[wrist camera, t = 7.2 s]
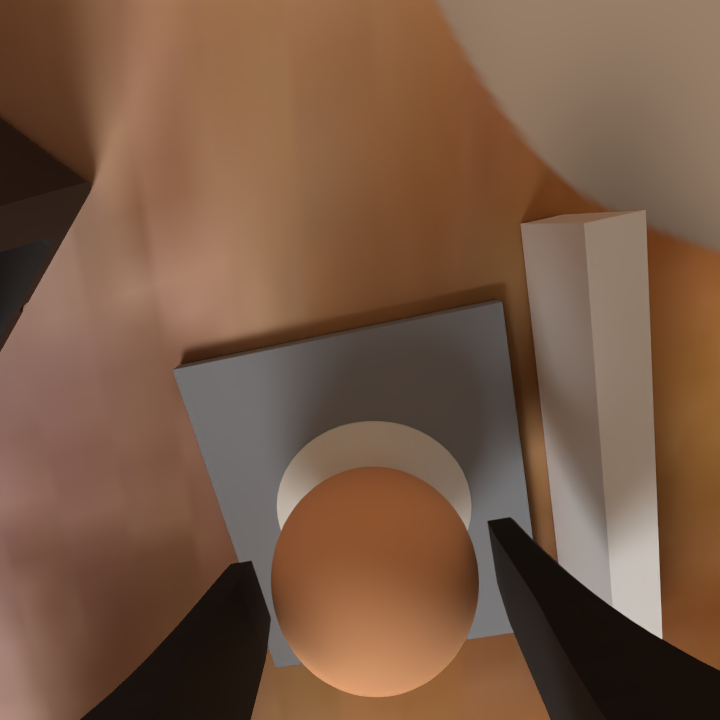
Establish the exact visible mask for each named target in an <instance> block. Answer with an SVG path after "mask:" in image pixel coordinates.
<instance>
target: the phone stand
mask: <svg viewBox="0 0 720 720" xmlns="http://www.w3.org/2000/svg"><path fill="white" fill-rule="evenodd" d="M90 190H91V186H90V184H89V183H88V182H86V181H85V180H84V179H82V178H81V177H80V176H78V175H77V174H75V173H74V172H73V171H71V170H70V169H69V168H67V167H66V166H65V165H63V164H62V163H61V162H59V161H58V160H57V159H55V158H54V157H52V156H51V155H50V154H48V153H47V152H46V151H44V150H43V149H42V148H40V147H39V146H38V145H36V144H35V143H34V142H32V141H31V140H30V139H28V138H27V137H25V136H24V135H23V134H21V133H20V132H19V131H17V130H16V129H15V128H13V127H12V126H11V125H9V124H8V123H7V122H5V121H4V120H2V119H1V118H0V351H1V349H2V348H3V346H4V344H5V342H6V341H7V339H8V337H9V335H10V333H11V332H12V330H13V328H14V326H15V325H16V323H17V321H18V319H19V317H20V316H21V314H22V311H20V309H21V307H22V306H23V305H24V304H26V303H28V301H29V300H30V298H31V296H32V294H33V293H34V291H35V289H36V287H37V285H38V284H39V282H40V280H41V278H42V277H43V275H44V273H45V271H46V269H47V268H48V266H49V264H50V262H51V261H52V259H53V257H54V255H55V253H56V252H57V250H58V248H59V246H60V245H61V243H62V241H63V239H64V238H65V236H66V234H67V232H68V230H69V229H70V227H71V225H72V223H73V222H74V220H75V218H76V216H77V214H78V213H79V211H80V209H81V207H82V206H83V204H84V202H85V200H86V198H87V197H88V195H89V193H90Z"/></svg>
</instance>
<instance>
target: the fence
mask: <svg viewBox="0 0 720 720" xmlns="http://www.w3.org/2000/svg"><path fill="white" fill-rule="evenodd" d="M520 225H521V234H522V243H523V252H524V261H525V270H526V279H527V288H528V297H529V305H530V314H531V323H532V332H533V341H534V350H535V359H536V368H537V377H538V386H539V394H540V403H541V412H542V421H543V430H544V439H545V448H546V457H547V466H548V475H549V483H550V492H551V501H552V510H553V519H554V528H555V537H556V546H557V555H558V564H559V565H561V566H562V567H563V568H564V569H565V570H566V571H567V572H568V573H570V574H571V575H572V576H573V577H574V578H576V579H577V580H578V581H579V582H580V583H582V584H583V585H584V586H585V587H587V588H588V589H589V590H590V591H592V592H593V593H594V594H596V595H597V596H598V597H600V598H601V599H602V600H603V601H605V602H606V603H608V604H609V605H610V606H612V607H613V608H614V609H616V610H617V611H619V612H620V613H622V614H623V615H625V616H626V617H627V618H629V619H630V620H632V621H633V622H635V623H636V624H638V625H640V626H641V627H643V628H644V629H646V630H647V631H649V632H650V633H652V634H654V635H656V636H657V637H659V638H661V639H662V618H661V592H660V566H659V540H658V514H657V488H656V462H655V436H654V410H653V384H652V358H651V332H650V307H649V281H648V255H647V229H646V210H634V211H616V212H599V213H582V214H564V215H559V216H554V217H550V218H545V219H541V220H536V221H532V222H527V223H522V224H520Z"/></svg>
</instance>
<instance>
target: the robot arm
mask: <svg viewBox="0 0 720 720" xmlns="http://www.w3.org/2000/svg"><path fill="white" fill-rule="evenodd" d="M487 523H488V529H489V536H490V542H491V548H492V554H493V561H494V567H495V573H496V579H497V584H498V588H499V591H500V594H501V597H502V601H503V604H504V607H505V610H506V613H507V616H508V620H509V622H510V625H511V627H512V630H513V632H514V634H515V637H516V639H517V641H518V644H519V646H520V648H521V651H522V653H523V655H524V658H525V660H526V662H527V665H528V667H529V669H530V672H531V674H532V676H533V679H534V681H535V683H536V686H537V688H538V690H539V693H540V695H541V697H542V700H543V702H544V704H545V707H546V709H547V711H548V714H549V717H550V719H551V720H720V671H719V670H717V669H715V668H713V667H711V666H709V665H707V664H705V663H703V662H701V661H700V660H698V659H696V658H694V657H692V656H690V655H688V654H687V653H685V652H683V651H681V650H680V649H678V648H676V647H675V646H673V645H671V644H669V643H668V642H666V641H664V640H663V639H661V638H659V637H657V636H656V635H654V634H652V633H650V632H649V631H647V630H646V629H644V628H643V627H641V626H640V625H638V624H636V623H635V622H633V621H632V620H630V619H629V618H627V617H626V616H625V615H623V614H622V613H620V612H619V611H617V610H616V609H614V608H613V607H612V606H610V605H609V604H608V603H606V602H605V601H603V600H602V599H601V598H600V597H598V596H597V595H596V594H594V593H593V592H592V591H590V590H589V589H588V588H587V587H585V586H584V585H583V584H582V583H580V582H579V581H578V580H577V579H576V578H574V577H573V576H572V575H571V574H570V573H568V572H567V571H566V570H565V569H564V568H563V567H562V566H561V565H559V564H558V563H557V562H556V561H555V560H554V559H553V558H552V557H550V556H549V555H548V554H547V553H546V552H545V551H544V550H543V549H542V548H541V547H540V546H539V545H538V544H537V543H536V542H535V541H534V540H533V539H532V538H531V537H530V536H529V535H528V534H527V533H526V532H525V531H524V530H523V529H522V528H521V527H520V526H519V524H518V523H517V522H516V521H515V520H514V519H512V518H511V517H508V518H502V519H496V520H490V521H487ZM270 623H271V617H270V614H269V611H268V608H267V605H266V602H265V599H264V596H263V593H262V590H261V587H260V584H259V581H258V578H257V575H256V572H255V569H254V566H253V563H252V561H246V562H240V563H234V564H231V565H230V566H229V567H228V568H227V569H226V570H225V571H224V572H223V573H222V574H221V576H220V577H219V578H218V579H217V580H216V582H215V583H214V584H213V585H212V586H211V587H210V589H209V590H208V591H207V592H206V593H205V595H204V596H203V597H202V598H201V599H200V600H199V602H198V603H197V604H196V605H195V606H194V607H193V609H192V610H191V611H190V612H189V613H188V614H187V616H186V617H185V618H184V619H183V620H182V621H181V622H180V624H179V625H178V626H177V627H176V628H175V629H174V630H173V631H172V632H171V633H170V634H169V636H168V637H167V638H166V639H165V640H164V641H163V642H162V643H161V644H160V645H159V646H158V647H157V648H156V650H155V651H154V652H153V653H152V654H151V655H150V656H149V657H148V658H147V659H146V660H145V661H144V662H143V663H142V664H141V665H140V666H139V667H138V668H137V669H136V670H135V671H134V672H133V673H132V674H131V675H130V676H129V677H128V678H127V679H126V680H125V681H124V682H122V683H121V684H120V685H119V686H118V687H117V688H116V689H115V690H114V691H113V692H112V693H111V694H110V695H108V696H107V697H106V698H105V699H104V700H103V701H102V702H100V703H99V704H98V705H97V706H96V707H94V708H93V709H92V710H91V711H90V712H89V713H87V714H86V715H85V716H84V717H83V718H81V719H80V720H250V719H251V715H252V711H253V708H254V704H255V700H256V696H257V692H258V688H259V684H260V680H261V676H262V672H263V668H264V664H265V660H266V654H267V647H268V640H269V632H270Z"/></svg>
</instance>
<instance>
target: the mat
mask: <svg viewBox="0 0 720 720" xmlns="http://www.w3.org/2000/svg"><path fill="white" fill-rule="evenodd" d="M173 373H174V375H175V378H176V381H177V384H178V387H179V390H180V393H181V396H182V399H183V401H184V404H185V407H186V410H187V413H188V416H189V419H190V422H191V425H192V427H193V430H194V433H195V436H196V439H197V442H198V445H199V448H200V451H201V453H202V456H203V459H204V462H205V465H206V468H207V471H208V474H209V477H210V480H211V482H212V485H213V488H214V491H215V494H216V497H217V500H218V503H219V506H220V508H221V511H222V514H223V517H224V520H225V523H226V526H227V529H228V532H229V534H230V537H231V540H232V543H233V546H234V549H235V552H236V555H237V558H238V560H239V563H240V562H246V561H252V563H253V566H254V569H255V572H256V575H257V578H258V581H259V584H260V587H261V590H262V593H263V596H264V599H265V602H266V605H267V608H268V611H269V614H270V617H271V623H270V632H269V640H268V647H269V650H270V653H271V656H272V659H273V662H274V665H275V667H276V668H278V667H285V666H292V665H298V664H303V663H302V662H301V661H300V660H299V659H298V657H297V656H296V655H295V654H294V652H293V651H292V649H291V647H290V646H289V644H288V642H287V641H286V639H285V637H284V636H283V633H282V631H281V628H280V626H279V623H278V620H277V618H276V614H275V610H274V606H273V600H272V592H271V569H272V560H273V555H274V551H275V547H276V543H277V540H278V538H279V535H280V533H281V530H282V528H283V525H284V523H285V522H286V520H287V518H288V517H289V515H290V513H291V512H292V510H293V509H294V507H295V506H296V505H297V504H298V503H299V501H300V500H301V499H302V498H303V497H304V496H305V495H306V494H307V493H308V492H310V491H311V490H312V489H313V488H314V487H315V486H317V485H318V484H320V483H321V482H322V481H324V480H326V479H328V478H330V477H332V476H334V475H336V474H338V473H341V472H344V471H346V470H350V469H355V468H360V467H387V468H393V469H397V470H401V471H403V472H406V473H409V474H411V475H414V476H416V477H418V478H420V479H422V480H423V481H425V482H427V483H428V484H429V485H431V486H432V487H434V488H435V489H436V490H437V491H438V492H439V493H440V494H441V495H443V496H444V497H445V498H446V499H447V500H448V501H449V503H450V504H451V505H452V506H453V507H454V509H455V510H456V512H457V513H458V514H459V516H460V518H461V519H462V521H463V523H464V524H465V526H466V529H467V531H468V533H469V536H470V538H471V540H472V543H473V546H474V550H475V554H476V559H477V563H478V573H479V595H478V603H477V609H476V613H475V617H474V620H473V623H472V626H471V629H470V631H469V634H468V636H467V638H466V640H467V639H474V638H480V637H487V636H494V635H501V634H507V633H514V632H513V630H512V627H511V625H510V622H509V620H508V616H507V613H506V610H505V607H504V604H503V601H502V597H501V594H500V591H499V588H498V584H497V579H496V573H495V567H494V561H493V554H492V548H491V542H490V536H489V529H488V523H487V521H490V520H496V519H502V518H508V517H511V518H512V519H514V520H515V521H516V522H517V523H518V524H519V526H520V527H521V528H522V529H523V530H524V531H525V532H526V533H527V534H528V535H529V536H530V537H531V538H532V539H533V536H532V529H531V521H530V513H529V505H528V498H527V490H526V482H525V474H524V467H523V459H522V451H521V443H520V435H519V428H518V420H517V412H516V404H515V397H514V389H513V381H512V373H511V366H510V358H509V350H508V342H507V335H506V327H505V319H504V311H503V304H502V302H501V301H500V300H498V299H497V300H492V301H487V302H482V303H477V304H472V305H468V306H463V307H458V308H453V309H448V310H443V311H438V312H434V313H429V314H424V315H419V316H414V317H409V318H405V319H400V320H395V321H390V322H385V323H380V324H376V325H371V326H366V327H361V328H356V329H351V330H346V331H342V332H337V333H332V334H327V335H322V336H317V337H313V338H308V339H303V340H298V341H293V342H288V343H284V344H279V345H274V346H269V347H264V348H259V349H255V350H250V351H245V352H240V353H235V354H230V355H225V356H221V357H216V358H211V359H206V360H201V361H196V362H192V363H187V364H182V365H179V366H177V367H176V368H174V369H173Z"/></svg>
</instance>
